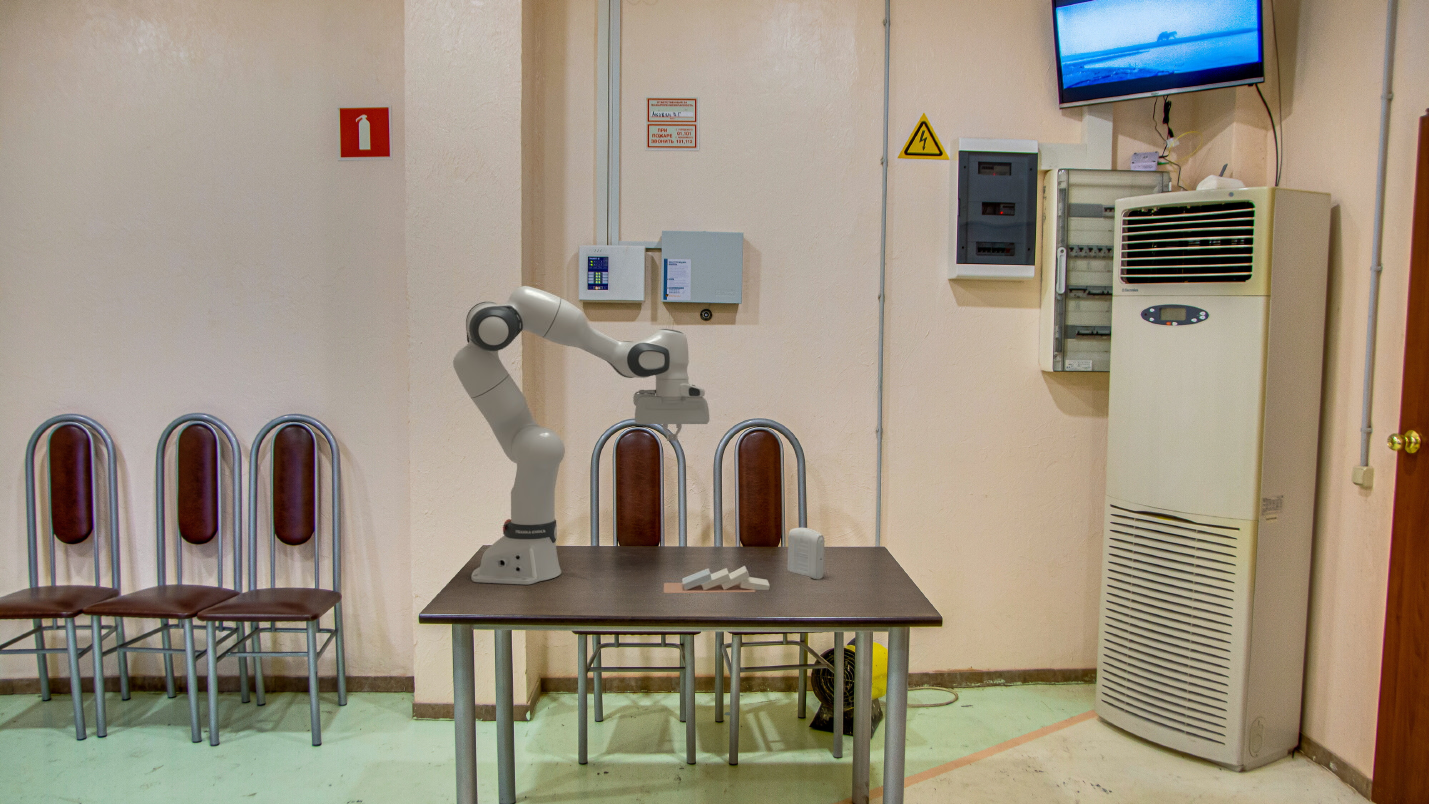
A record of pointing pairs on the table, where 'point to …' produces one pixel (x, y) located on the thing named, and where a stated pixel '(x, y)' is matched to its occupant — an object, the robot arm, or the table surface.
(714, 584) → the domino
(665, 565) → the table surface
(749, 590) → the strip
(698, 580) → the domino
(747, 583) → the domino
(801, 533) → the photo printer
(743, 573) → the domino
